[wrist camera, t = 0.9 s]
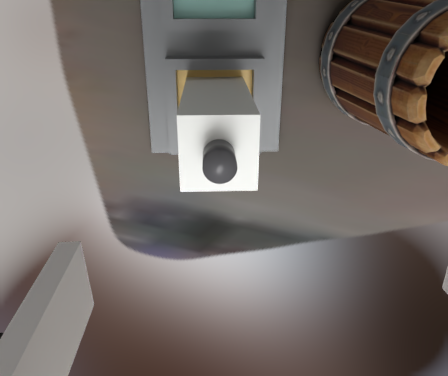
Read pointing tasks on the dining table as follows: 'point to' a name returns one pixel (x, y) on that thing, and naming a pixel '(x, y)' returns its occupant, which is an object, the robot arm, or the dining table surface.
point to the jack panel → (212, 58)
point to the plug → (218, 135)
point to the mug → (392, 70)
